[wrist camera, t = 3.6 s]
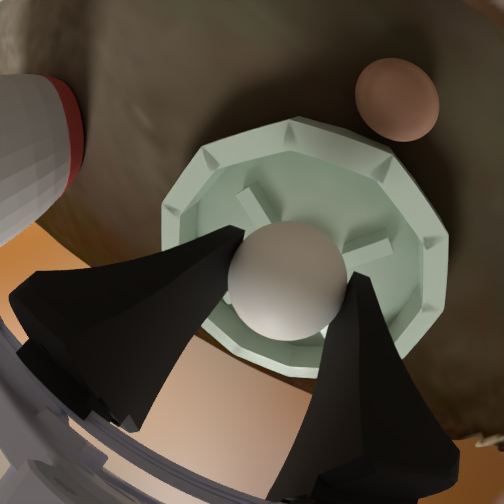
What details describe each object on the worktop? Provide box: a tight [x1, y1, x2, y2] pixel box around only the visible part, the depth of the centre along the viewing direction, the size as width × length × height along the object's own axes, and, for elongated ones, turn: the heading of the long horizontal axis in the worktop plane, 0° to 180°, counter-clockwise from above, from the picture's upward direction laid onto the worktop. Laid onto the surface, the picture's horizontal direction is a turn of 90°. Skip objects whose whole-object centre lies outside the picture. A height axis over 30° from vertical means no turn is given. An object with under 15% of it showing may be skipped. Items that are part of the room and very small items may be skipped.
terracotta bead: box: [355, 58, 439, 142], centre depth 10 cm, size 4×4×4 cm
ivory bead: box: [228, 221, 347, 341], centre depth 9 cm, size 4×4×4 cm
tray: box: [162, 116, 449, 378], centre depth 18 cm, size 18×18×3 cm
